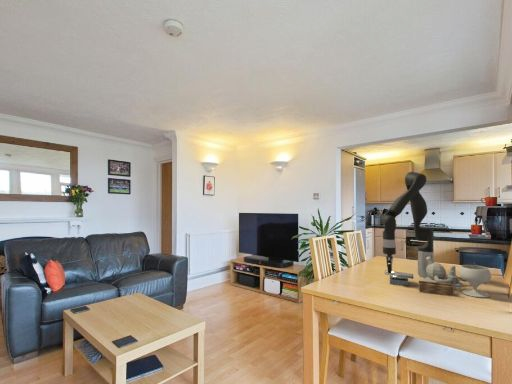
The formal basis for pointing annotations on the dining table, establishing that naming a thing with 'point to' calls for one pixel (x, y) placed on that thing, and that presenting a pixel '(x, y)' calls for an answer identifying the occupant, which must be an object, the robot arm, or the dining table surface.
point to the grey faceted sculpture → (441, 274)
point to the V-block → (398, 280)
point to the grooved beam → (436, 288)
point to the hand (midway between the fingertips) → (389, 271)
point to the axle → (399, 274)
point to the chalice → (475, 278)
